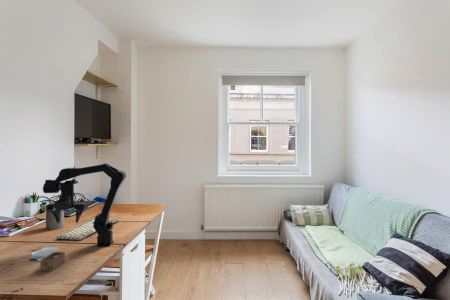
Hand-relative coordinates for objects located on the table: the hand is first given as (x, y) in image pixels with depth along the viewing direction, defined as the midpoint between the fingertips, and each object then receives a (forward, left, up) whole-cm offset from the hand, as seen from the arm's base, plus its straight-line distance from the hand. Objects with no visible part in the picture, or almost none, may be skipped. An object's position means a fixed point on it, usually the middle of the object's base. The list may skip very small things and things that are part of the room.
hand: (67, 223), depth 136 cm
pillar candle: (+25, -32, -12) cm, 42 cm away
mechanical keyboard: (+1, -27, -13) cm, 30 cm away
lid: (+5, +11, -11) cm, 17 cm away
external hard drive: (+5, +10, -13) cm, 18 cm away
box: (-6, +23, -12) cm, 27 cm away
